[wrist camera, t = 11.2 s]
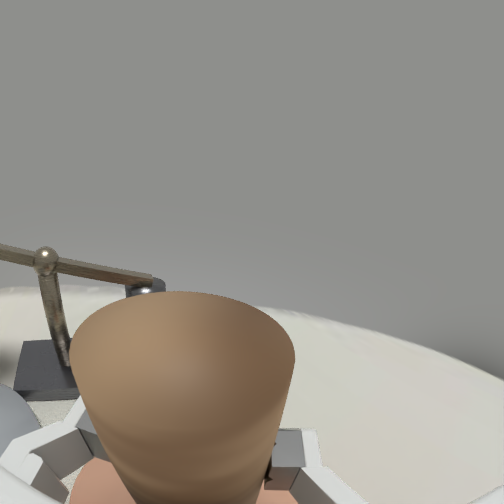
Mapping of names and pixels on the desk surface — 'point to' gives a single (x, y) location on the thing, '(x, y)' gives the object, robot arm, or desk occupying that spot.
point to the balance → (61, 320)
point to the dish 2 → (117, 496)
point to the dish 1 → (14, 417)
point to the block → (184, 394)
